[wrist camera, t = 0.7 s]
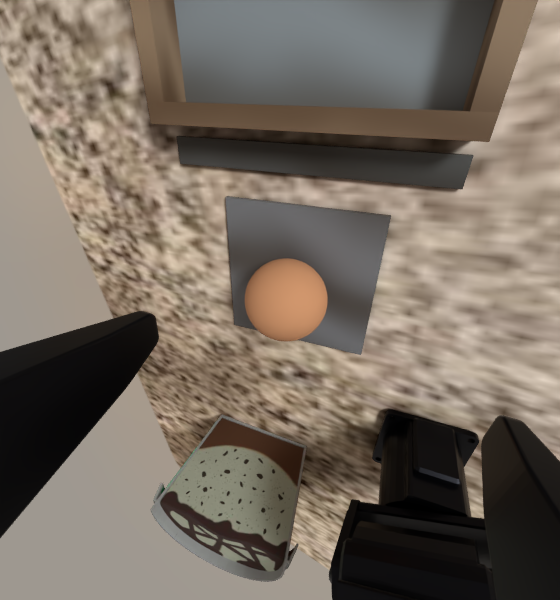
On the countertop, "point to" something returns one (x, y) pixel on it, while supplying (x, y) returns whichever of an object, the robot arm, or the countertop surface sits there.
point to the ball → (286, 299)
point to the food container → (236, 500)
